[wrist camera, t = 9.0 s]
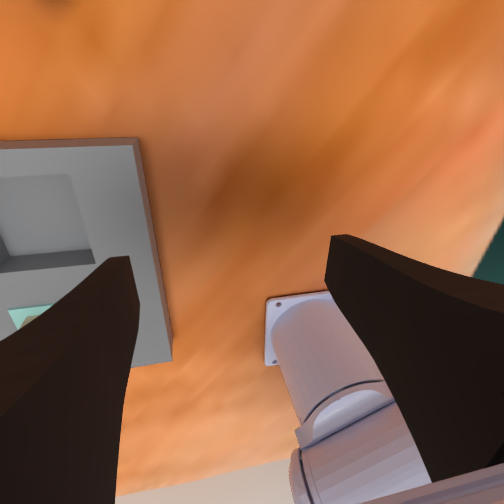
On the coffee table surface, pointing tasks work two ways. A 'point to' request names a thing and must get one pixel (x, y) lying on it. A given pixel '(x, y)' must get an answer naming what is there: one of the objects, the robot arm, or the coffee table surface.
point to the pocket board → (77, 230)
